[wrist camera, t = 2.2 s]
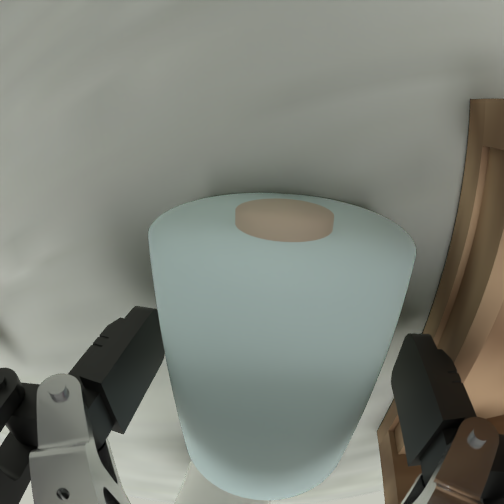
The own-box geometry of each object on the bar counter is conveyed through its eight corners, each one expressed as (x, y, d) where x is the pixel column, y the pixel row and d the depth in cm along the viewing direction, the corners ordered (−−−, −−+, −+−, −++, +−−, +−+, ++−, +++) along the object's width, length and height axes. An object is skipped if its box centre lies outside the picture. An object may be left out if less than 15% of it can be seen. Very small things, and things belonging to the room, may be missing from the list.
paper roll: (194, 180, 10) (88, 256, 5) (379, 192, 9) (469, 285, 4) (205, 373, 14) (168, 487, 8) (337, 384, 13) (346, 504, 7)
